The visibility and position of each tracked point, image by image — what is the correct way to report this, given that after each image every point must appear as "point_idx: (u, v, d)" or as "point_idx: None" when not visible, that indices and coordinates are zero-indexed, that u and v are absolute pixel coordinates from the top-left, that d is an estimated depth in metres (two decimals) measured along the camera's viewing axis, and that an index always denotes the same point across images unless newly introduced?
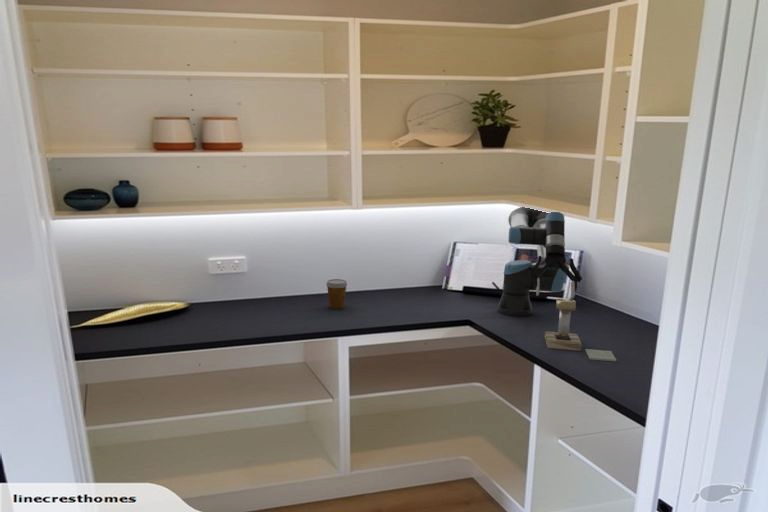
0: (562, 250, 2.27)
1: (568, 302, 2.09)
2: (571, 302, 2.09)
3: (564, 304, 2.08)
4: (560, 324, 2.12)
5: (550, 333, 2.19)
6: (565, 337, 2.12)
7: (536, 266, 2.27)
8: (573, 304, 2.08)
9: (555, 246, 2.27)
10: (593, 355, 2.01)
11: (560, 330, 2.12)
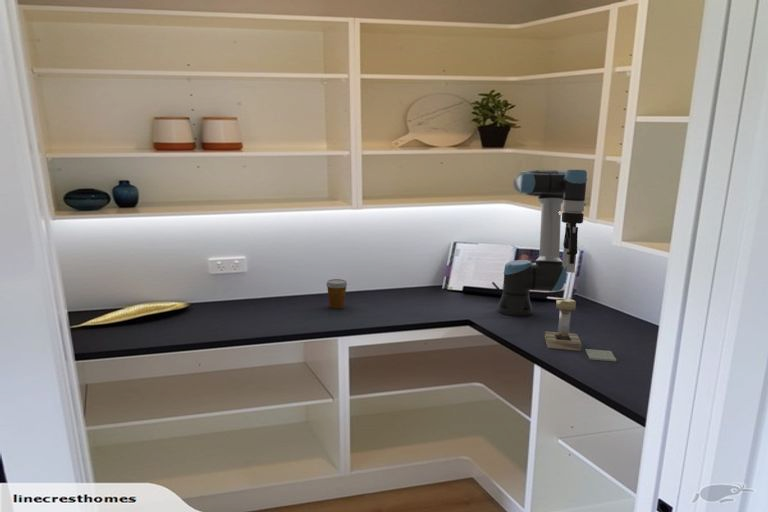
0: None
1: (568, 302, 2.09)
2: (571, 302, 2.09)
3: (564, 304, 2.08)
4: (560, 324, 2.12)
5: (550, 333, 2.19)
6: (565, 337, 2.12)
7: None
8: (573, 304, 2.08)
9: (583, 215, 2.05)
10: (593, 355, 2.01)
11: (560, 330, 2.12)
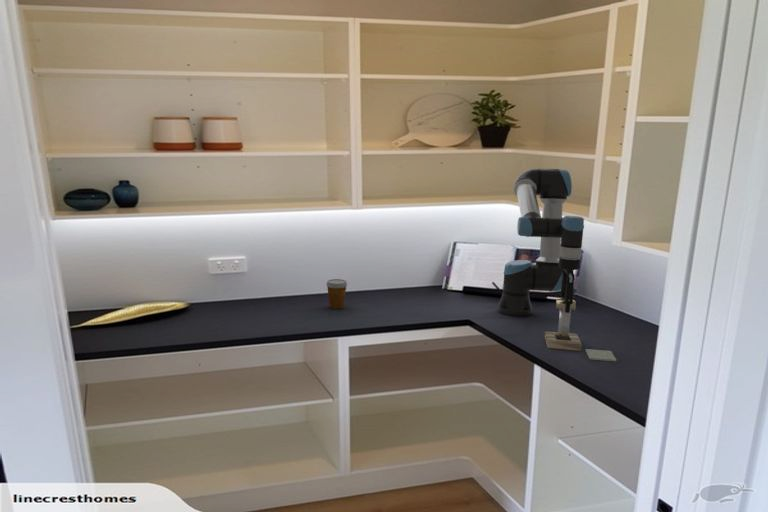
0: None
1: None
2: None
3: None
4: (560, 324, 2.12)
5: (550, 333, 2.19)
6: (565, 337, 2.12)
7: None
8: (573, 304, 2.08)
9: None
10: (593, 355, 2.01)
11: (560, 330, 2.12)
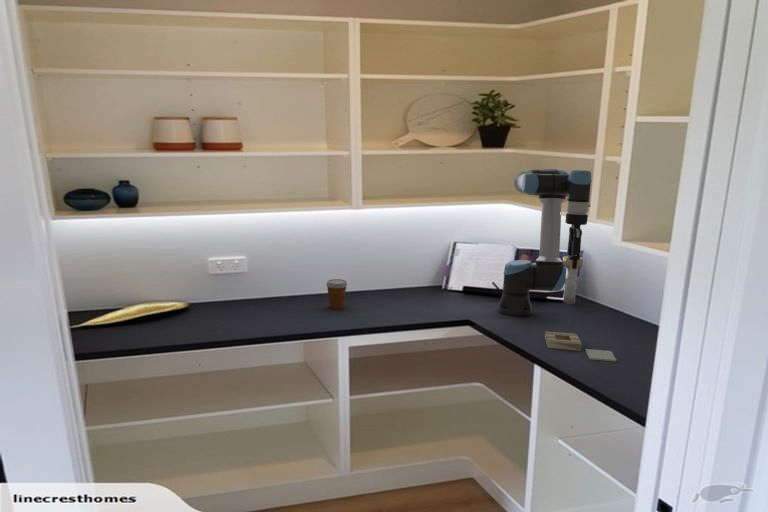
0: None
1: None
2: None
3: None
4: (567, 282, 2.08)
5: (550, 333, 2.19)
6: (572, 295, 2.07)
7: None
8: (580, 260, 2.04)
9: (587, 216, 2.03)
10: (593, 355, 2.01)
11: (567, 288, 2.08)
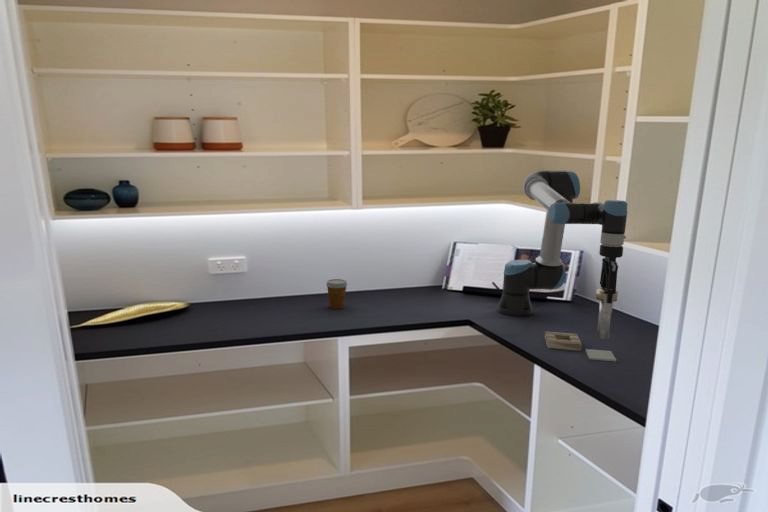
0: None
1: None
2: None
3: None
4: (600, 316, 1.99)
5: (550, 333, 2.19)
6: (606, 329, 1.99)
7: None
8: (615, 294, 1.95)
9: None
10: (593, 355, 2.01)
11: (601, 322, 1.99)
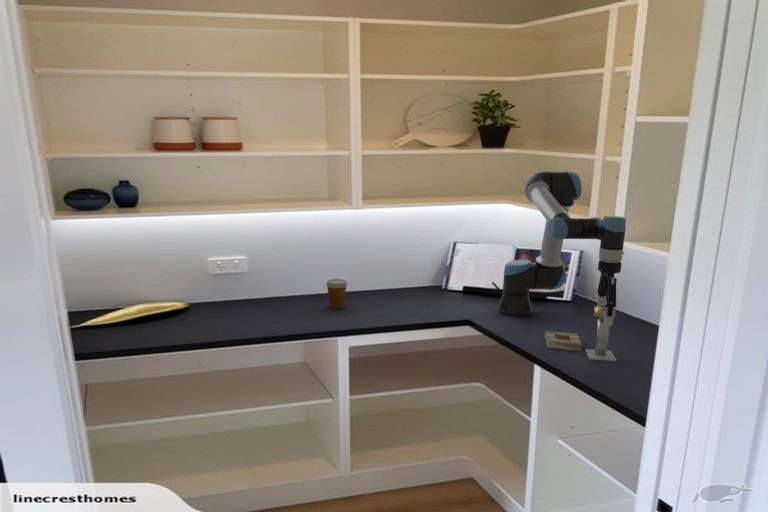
0: None
1: None
2: None
3: (603, 312, 1.96)
4: (598, 334, 2.00)
5: (550, 333, 2.19)
6: (604, 347, 2.00)
7: None
8: None
9: None
10: (593, 355, 2.01)
11: (598, 340, 2.00)
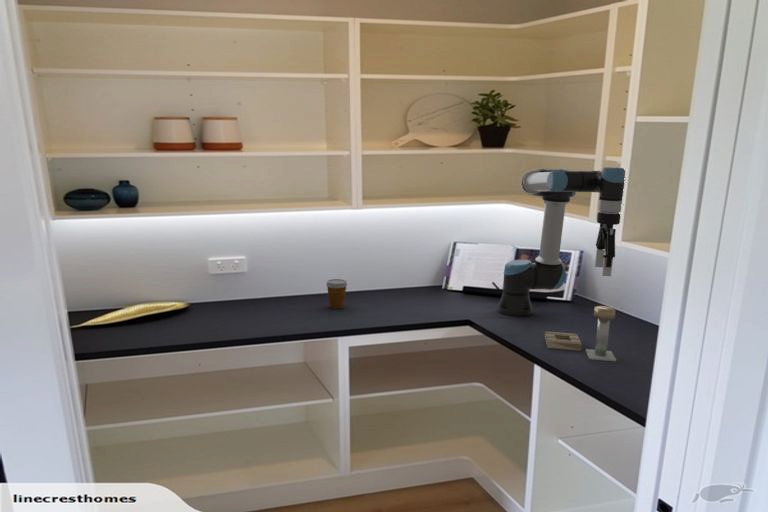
0: None
1: (607, 310, 1.97)
2: (611, 310, 1.97)
3: (603, 312, 1.96)
4: (598, 334, 2.00)
5: (550, 333, 2.19)
6: (604, 347, 2.00)
7: None
8: (613, 312, 1.97)
9: None
10: (593, 355, 2.01)
11: (598, 340, 2.00)
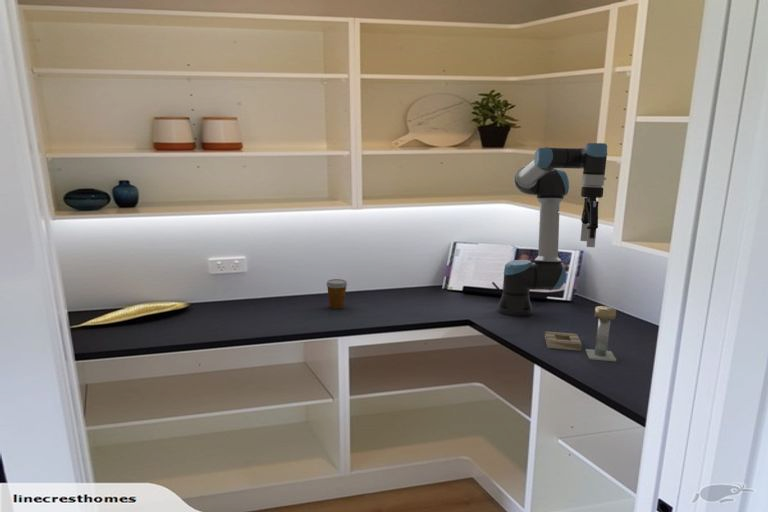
0: None
1: (608, 310, 1.97)
2: (611, 310, 1.97)
3: (604, 312, 1.96)
4: (599, 334, 2.00)
5: (550, 333, 2.19)
6: (604, 347, 2.00)
7: None
8: (613, 312, 1.97)
9: None
10: (593, 355, 2.01)
11: (599, 340, 2.00)
